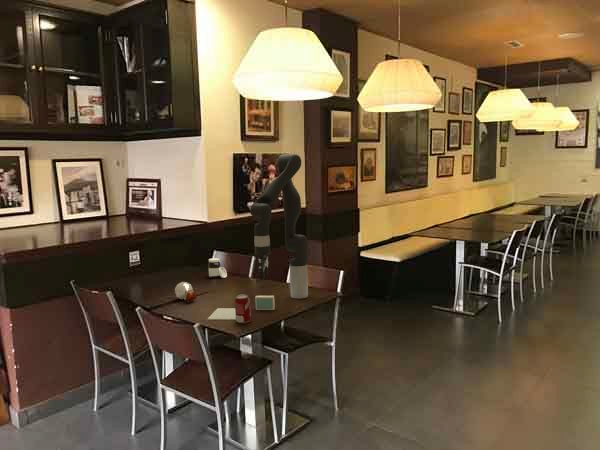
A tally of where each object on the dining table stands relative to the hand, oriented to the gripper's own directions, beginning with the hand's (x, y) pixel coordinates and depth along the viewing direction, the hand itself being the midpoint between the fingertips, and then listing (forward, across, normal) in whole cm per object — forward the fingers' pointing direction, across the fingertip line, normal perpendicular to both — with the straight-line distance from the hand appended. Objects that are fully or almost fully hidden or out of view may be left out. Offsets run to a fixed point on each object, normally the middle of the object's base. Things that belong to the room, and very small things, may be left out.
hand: (263, 277), depth 239 cm
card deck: (+16, 0, 0) cm, 16 cm away
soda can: (+16, +19, -6) cm, 26 cm away
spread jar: (+16, -65, -44) cm, 80 cm away
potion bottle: (+16, -15, -46) cm, 51 cm away
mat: (+16, +9, -17) cm, 25 cm away
